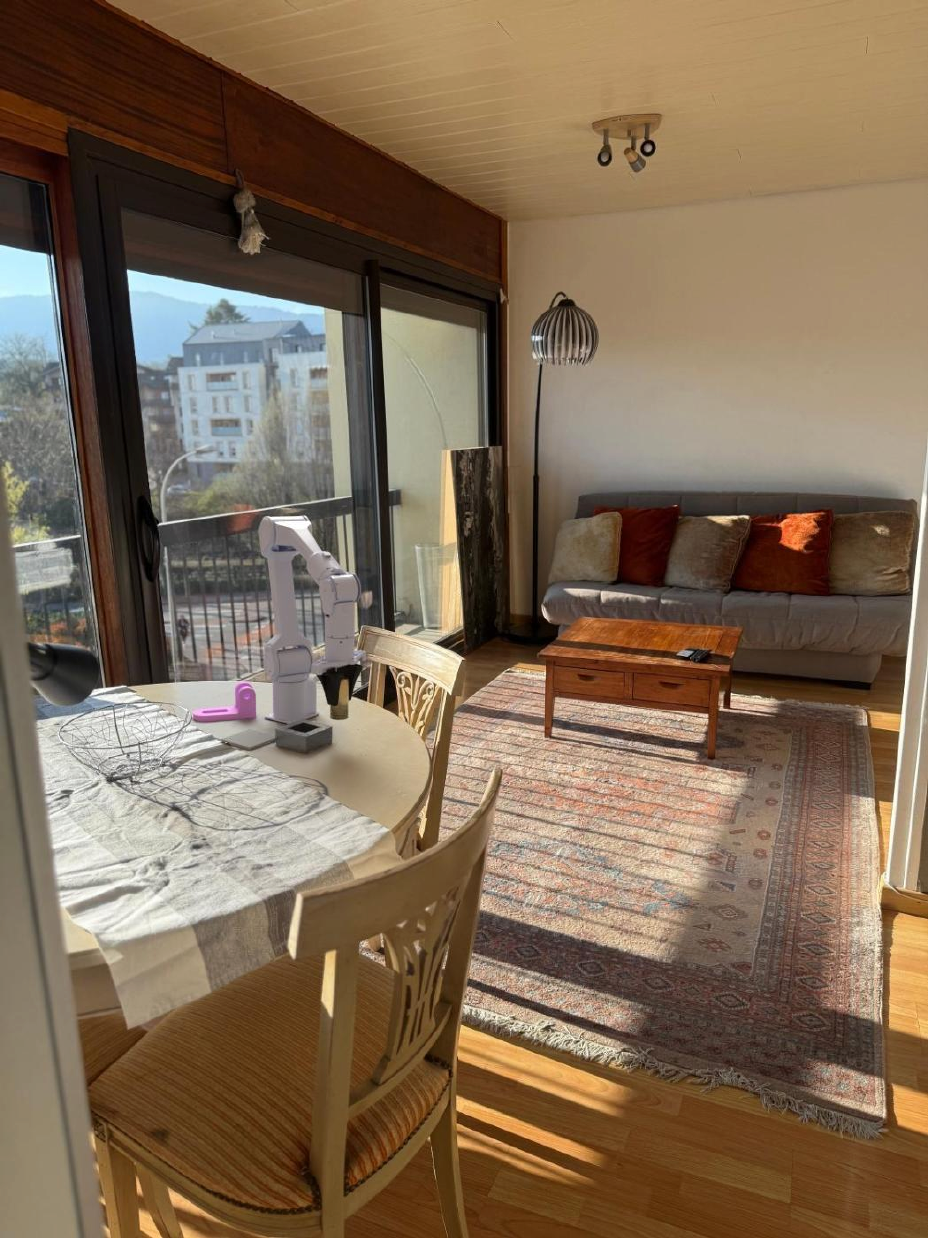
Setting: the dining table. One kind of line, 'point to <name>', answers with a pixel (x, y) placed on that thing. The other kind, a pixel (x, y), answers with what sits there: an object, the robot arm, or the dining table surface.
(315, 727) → the block
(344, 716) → the key peg
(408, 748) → the dining table surface
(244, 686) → the bracket
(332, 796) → the dining table surface
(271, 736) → the mat
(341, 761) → the dining table surface
